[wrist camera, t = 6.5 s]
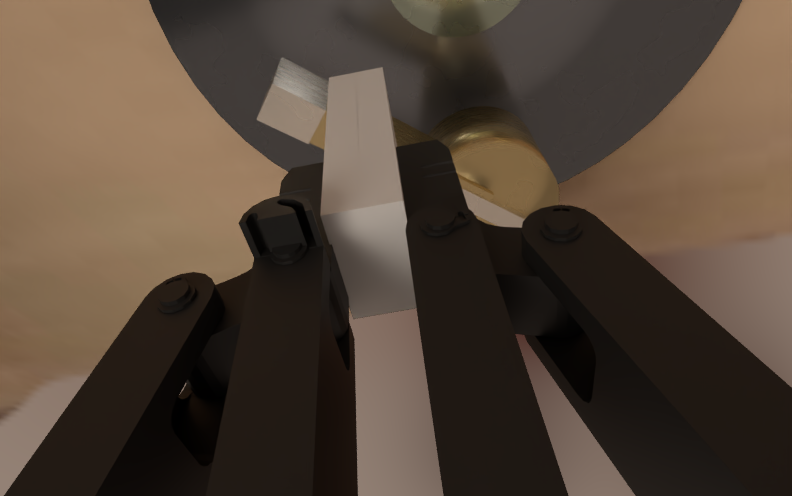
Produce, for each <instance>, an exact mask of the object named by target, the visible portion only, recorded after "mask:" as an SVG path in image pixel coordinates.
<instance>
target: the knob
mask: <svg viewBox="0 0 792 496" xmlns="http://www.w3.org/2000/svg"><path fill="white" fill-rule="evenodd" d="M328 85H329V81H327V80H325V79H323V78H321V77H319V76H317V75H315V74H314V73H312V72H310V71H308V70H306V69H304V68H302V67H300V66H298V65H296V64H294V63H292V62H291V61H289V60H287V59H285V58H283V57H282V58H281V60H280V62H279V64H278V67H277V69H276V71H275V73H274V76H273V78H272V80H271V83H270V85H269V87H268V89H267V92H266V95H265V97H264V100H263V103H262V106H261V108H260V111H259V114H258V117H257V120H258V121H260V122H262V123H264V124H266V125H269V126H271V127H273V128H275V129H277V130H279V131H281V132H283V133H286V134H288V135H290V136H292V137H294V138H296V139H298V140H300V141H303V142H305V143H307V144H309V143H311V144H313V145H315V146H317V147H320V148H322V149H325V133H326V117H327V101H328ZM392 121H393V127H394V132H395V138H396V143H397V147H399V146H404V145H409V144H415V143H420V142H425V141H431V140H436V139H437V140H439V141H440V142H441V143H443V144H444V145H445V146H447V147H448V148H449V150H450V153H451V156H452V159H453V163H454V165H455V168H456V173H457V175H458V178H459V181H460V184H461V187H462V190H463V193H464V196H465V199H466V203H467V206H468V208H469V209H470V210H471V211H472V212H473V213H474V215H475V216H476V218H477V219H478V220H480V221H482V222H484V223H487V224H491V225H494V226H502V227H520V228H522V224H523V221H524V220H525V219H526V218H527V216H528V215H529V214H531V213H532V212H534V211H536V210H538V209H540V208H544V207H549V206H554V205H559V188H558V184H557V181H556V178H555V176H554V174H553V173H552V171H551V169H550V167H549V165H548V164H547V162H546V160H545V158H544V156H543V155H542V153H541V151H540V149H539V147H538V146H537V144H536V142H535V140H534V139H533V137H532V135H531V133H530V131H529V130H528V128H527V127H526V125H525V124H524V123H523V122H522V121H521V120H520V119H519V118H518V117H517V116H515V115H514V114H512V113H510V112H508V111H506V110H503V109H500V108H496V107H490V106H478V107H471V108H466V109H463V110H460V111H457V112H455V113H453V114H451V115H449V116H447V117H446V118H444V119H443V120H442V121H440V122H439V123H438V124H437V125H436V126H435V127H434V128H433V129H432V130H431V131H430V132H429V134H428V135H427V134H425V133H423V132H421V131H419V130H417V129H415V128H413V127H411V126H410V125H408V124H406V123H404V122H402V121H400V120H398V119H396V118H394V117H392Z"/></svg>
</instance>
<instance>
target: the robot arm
mask: <svg viewBox="0 0 792 496" xmlns="http://www.w3.org/2000/svg"><path fill="white" fill-rule="evenodd" d="M279 194H280V196H277V197H273V198H270V199H266V200H264V201H262V202H260V203H258V204H256V205H254V206H253V207H251V208H250V209H249V210H248V211H247V212H246V213H245V214H244V215H243V216H242V218H241V220H240V222H239V225H240V227H241V229H242V232H243V234H244V236H245V238H246V241H247V243H248V245H249V247H250V250H251V252H252V254H253V256H254V262H253V267H252V269H250V270H249V271H247V272H246V273H243V274H241V275H239V276H237V277H235V278H232V279H230V280H228V281H225V282H223V283H220V284H218V285H215V284H214V282H213V280H212V279H211V278H210V277H208V276H207V275H206V274H202V273H196V272H192V273H185V274H180V275H177V276H175V277H172V278H170V279H167V280H166V281H164V282H163V283H161V284H160V285H158V286H156V287H155V288H154V289H153V290H152V291H151V292H150V293H149V294H148V295H147V296H146V297H145V298H144V300H143V301H142V303H141V304H140V305H139V307H138V308H137V310H136V311H135V312H134V314H133V315H132V317H131V318H130V319H129V321H128V322H127V324H126V325H125V327H124V328H123V329H122V331H121V332H120V334H119V335H118V336H117V338H116V339H115V341H114V342H113V343H112V345H111V346H110V348H109V349H108V350H107V352H106V353H105V355H104V356H103V357H102V359H101V360H100V362H99V363H98V364H97V366H96V367H95V369H94V370H93V371H92V373H91V374H90V376H89V377H88V378H87V380H86V381H85V383H84V384H83V385H82V387H81V388H80V390H79V391H78V392H77V394H76V395H75V397H74V398H73V399H72V401H71V402H70V404H69V405H68V407H67V408H66V409H65V411H64V412H63V414H62V415H61V416H60V418H59V419H58V421H57V422H56V423H55V425H54V426H53V428H52V429H51V430H50V432H49V433H48V435H47V436H46V437H45V439H44V440H43V442H42V443H41V445H40V446H39V447H38V449H37V450H36V452H35V453H34V454H33V456H32V457H31V459H30V460H29V461H28V463H27V464H26V465H25V467H24V468H23V470H22V471H21V473H20V474H19V475H18V477H17V478H16V480H15V481H14V482H13V484H12V485H11V487H10V488H9V489H8V491H7V492H6V494H5V495H4V496H358V485H357V439H356V396H355V395H356V394H355V352H354V351H355V349H354V336H353V333H352V329H351V326H350V323H349V307H350V310H351V313H352V317H353V319H356V318H363V317H368V316H374V315H380V314H385V313H392V312H397V311H403V310H409V309H415V308H417V313H418V321H419V328H420V335H421V342H422V349H423V356H424V363H425V369H426V376H427V383H428V390H429V397H430V404H431V411H432V418H433V425H434V431H435V439H436V446H437V453H438V460H439V467H440V474H441V480H442V487H443V494H444V496H568V493H567V490H566V487H565V484H564V481H563V478H562V475H561V472H560V469H559V466H558V463H557V460H556V457H555V454H554V450H553V448H552V444H551V442H550V438H549V435H548V432H547V429H546V426H545V423H544V420H543V417H542V414H541V411H540V408H539V405H538V403H537V399H536V396H535V393H534V390H533V387H532V384H531V381H530V378H529V375H528V372H527V369H526V366H525V363H524V360H523V356H522V353H521V350H520V347H519V344H518V341H517V338H516V335H515V334H522V335H525V338H526V340H527V342H528V344H529V345H530V346H531V348H532V349H533V351H534V352H535V353H536V355H537V356H538V358H539V359H540V360H541V362H542V363H543V365H544V366H545V368H546V369H547V371H548V372H549V373H550V375H551V376H552V378H553V379H554V380H555V382H556V383H557V385H558V386H559V388H560V389H561V390H562V392H563V393H564V395H565V396H566V397H567V399H568V400H569V402H570V403H571V405H572V406H573V407H574V409H575V410H576V412H577V413H578V414H579V416H580V417H581V419H582V420H583V422H584V423H585V424H586V426H587V427H588V429H589V430H590V431H591V433H592V434H593V436H594V437H595V439H596V440H597V442H598V443H599V444H600V446H601V447H602V449H603V450H604V451H605V453H606V454H607V456H608V457H609V459H610V460H611V461H612V463H613V464H614V466H615V467H616V468H617V470H618V471H619V473H620V474H621V475H622V477H623V478H624V480H625V481H626V483H627V484H628V486H629V487H630V488H631V489H632V491H633V493H634V494H635V495H636V496H792V388H791V387H790V386H789V385H788V384H787V383H786V382H785V381H783V380H782V379H781V378H780V377H779V376H778V375H776V374H775V373H774V372H773V371H772V370H771V369H770V368H769V367H767V366H766V365H765V364H764V363H763V362H762V361H760V360H759V359H758V358H757V357H756V356H755V355H754V354H753V353H751V352H750V351H749V350H748V349H747V348H746V347H744V346H743V345H742V344H741V343H740V342H738V340H737V339H735V338H734V337H733V336H732V335H731V334H730V333H729V332H727V331H726V330H725V329H724V328H723V327H722V326H721V325H719V324H718V323H717V322H716V321H715V320H714V319H713V318H711V317H710V316H709V315H708V314H707V313H706V312H705V311H703V310H702V309H701V308H700V307H699V306H697V304H695V303H694V302H693V301H692V300H691V299H690V298H688V297H687V296H686V295H685V294H684V293H683V292H682V291H680V290H679V289H678V288H677V287H676V286H675V285H674V284H673V283H671V282H670V281H669V280H668V279H667V278H666V277H665V276H663V275H662V274H661V273H660V272H659V271H658V270H656V269H655V268H654V267H653V266H652V265H651V264H650V263H649V262H647V261H646V260H645V259H644V258H643V257H642V256H641V255H639V254H638V253H637V252H636V251H635V250H634V249H633V248H631V247H630V246H629V245H628V244H627V243H626V242H625V241H623V240H622V239H621V238H620V237H619V236H618V235H617V234H615V233H614V232H613V231H612V230H611V229H610V228H609V227H607V226H606V225H605V224H604V223H603V222H602V221H601V220H599V219H598V218H597V217H596V216H595V215H593V214H591V213H590V212H588V211H586V210H585V209H581V208H577V207H574V206H565V205H554V206H549V207H544V208H540V209H538V210H536V211H534V212H532V213H531V214H529V215H528V216H527V218H526V219H525V220H524V221H523V224H522V228H520V227H502V226H494V225H491V224H487V223H484V222H482V221H480V220H478V219H477V218H476V216H475V215H474V213H473V212H472V211H471V210H470V209H469V208H468V206H467V203H466V199H465V196H464V193H463V190H462V187H461V184H460V181H459V178H458V175H457V173H456V168H455V165H454V163H453V159H452V156H451V153H450V150H449V148H448V147H447V146H445V145H444V144H443V143H441V142H440V141H439V140H437V139H436V140H431V141H425V142H420V143H415V144H409V145H404V146H399V147H397V143H396V138H395V132H394V127H393V121H392V116H391V111H390V105H389V100H388V94H387V89H386V84H385V78H384V73H383V67H381V68H376V69H371V70H365V71H360V72H355V73H350V74H345V75H340V76H334V77H329V85H328V101H327V117H326V133H325V149H324V162H321V163H316V164H311V165H305V166H300V167H295V168H292V169H291V170H290V171H289V172H288V174H287V175H286V176H285V177H284V179H283V180H282V182H281V188H280V193H279ZM185 383H187V384H186V386H185V388H184V390H183V391H182V392H181V390H182V389H183V387H184V385H185ZM180 392H181V394H180ZM179 394H180V395H179Z"/></svg>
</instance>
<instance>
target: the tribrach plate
mask: <svg viewBox="0 0 792 496" xmlns="http://www.w3.org/2000/svg"><path fill="white" fill-rule="evenodd" d="M149 1H150V4H151V6H152V9H153V12H154V14H155V16H156V18H157V20H158V22H159V24H160V26H161V28H162V30H163V32H164V34H165V36H166V38H167V40H168V42H169V44H170V46H171V48H172V50H173V52H174V53H175V55H176V56H177V58H178V59H179V61H180V62H181V64H182V66H183V67H184V69H185V70H186V72H187V73H188V75H189V76H190V78H191V79H192V81H193V83H194V84H195V86H196V87H197V88H198V89H199V91H200V92H201V93H202V94H203V95H204V97H205V98H206V99H207V100H208V102H209V103H210V104H211V105H212V107H213V108H214V109H215V110H216V111H217V113H218V114H219V115H220V116H221V117H222V118H223V119H224V120H225V121H226V122H227V123H228V124H229V125H230V126H231V127H232V128H233V129H234V130H235V131H236V132H237V133H238V134H239V135H240V136H241V137H242V138H243V139H244V140H245V141H246V142H248V143H249V144H250V145H252V146H253V147H254V148H255V149H257V150H258V151H259V152H260V153H262V154H263V155H264V156H266V157H267V158H268V159H269V160H271V161H272V162H273V163H275V164H277V165H278V166H280V167H281V168H283V169H285V170H286V171H288V172H289V171H290V170H291V169H292V168H295V167H300V166H305V165H311V164H316V163H321V162H324V149H322V148H320V147H317V146H315V145H313V144H311V143H309V144H307V143H305V142H303V141H300V140H298V139H296V138H294V137H292V136H290V135H288V134H286V133H283V132H281V131H279V130H277V129H275V128H273V127H271V126H269V125H266V124H264V123H262V122H260V121H258V120H257V117H258V114H259V111H260V108H261V106H262V103H263V100H264V97H265V95H266V92H267V89H268V87H269V85H270V83H271V80H272V78H273V76H274V73H275V71H276V69H277V67H278V64H279V62H280V60H281V58H282V57H283V58H285V59H287V60H289V61H291V62H292V63H294V64H296V65H298V66H300V67H302V68H304V69H306V70H308V71H310V72H312V73H314V74H315V75H317V76H319V77H321V78H323V79H325V80H327V81H329V77H334V76H340V75H345V74H350V73H355V72H360V71H365V70H371V69H376V68H381V67H383V73H384V78H385V84H386V89H387V94H388V100H389V105H390V111H391V116H392V117H394V118H396V119H398V120H400V121H402V122H404V123H406V124H408V125H410V126H411V127H413V128H415V129H417V130H419V131H421V132H423V133H425V134H427V135H428V134H429V132H430V131H431V130H432V129H433V128H434V127H435V126H436V125H437V124H438V123H439V122H440V121H442V120H443V119H444V118H446V117H447V116H449V115H451V114H453V113H455V112H457V111H460V110H463V109H466V108H471V107H478V106H490V107H496V108H500V109H503V110H506V111H508V112H510V113H512V114H514V115H515V116H517V117H518V118H519V119H520V120H521V121H522V122H523V123H524V124H525V125H526V127H527V128H528V130H529V131H530V133H531V135H532V137H533V139H534V140H535V142H536V144H537V146H538V147H539V149H540V151H541V153H542V155H543V156H544V158H545V160H546V162H547V164H548V165H549V167H550V169H551V171H552V173H553V174H554V176H555V178H556V181H557V184H559V183H561V182H564V181H566V180H568V179H570V178H572V177H573V176H575V175H577V174H579V173H580V172H582V171H584V170H586V169H587V168H589V167H591V166H593V165H594V164H596V163H598V162H599V161H601V160H602V159H604V158H605V157H606V156H608V155H609V154H611V153H612V152H613V151H615V150H616V149H618V148H619V147H620V146H622V145H623V144H625V143H626V142H627V141H629V140H630V139H631V138H632V137H633V136H634V135H635V134H637V133H638V132H639V131H640V130H641V129H642V128H644V127H645V126H646V125H647V124H648V123H649V122H650V121H652V120H653V119H654V118H655V117H656V116H657V115H658V114H659V113H660V112H661V111H662V110H663V109H664V108H665V107H666V106H667V105H668V103H669V102H670V101H671V100H672V99H673V98H674V97H675V96H676V95H677V94H678V93H679V92H680V91H681V90H682V89H683V87H684V86H685V85H686V84H687V82H688V81H689V80H690V79H691V77H692V76H693V75H694V74H695V72H696V71H697V70H698V69H699V67H700V66H701V65H702V64H703V62H704V61H705V60H706V58H707V57H708V56H709V54H710V53H711V51H712V50H713V48H714V46H715V45H716V43H717V42H718V40H719V39H720V37H721V36H722V34H723V33H724V31H725V30H726V28H727V27H728V25H729V23H730V22H731V20H732V18H733V17H734V15H735V13H736V11H737V9H738V7H739V5H740V3H741V1H742V0H149Z"/></svg>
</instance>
